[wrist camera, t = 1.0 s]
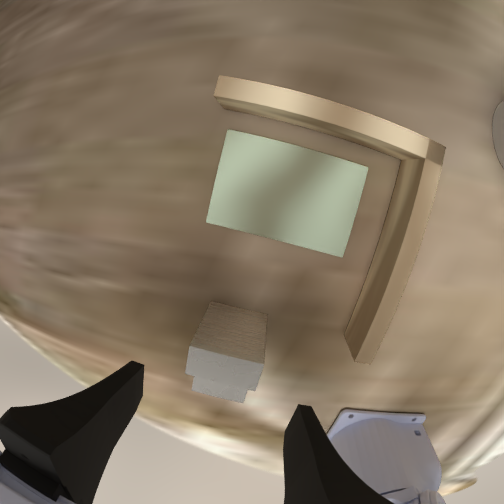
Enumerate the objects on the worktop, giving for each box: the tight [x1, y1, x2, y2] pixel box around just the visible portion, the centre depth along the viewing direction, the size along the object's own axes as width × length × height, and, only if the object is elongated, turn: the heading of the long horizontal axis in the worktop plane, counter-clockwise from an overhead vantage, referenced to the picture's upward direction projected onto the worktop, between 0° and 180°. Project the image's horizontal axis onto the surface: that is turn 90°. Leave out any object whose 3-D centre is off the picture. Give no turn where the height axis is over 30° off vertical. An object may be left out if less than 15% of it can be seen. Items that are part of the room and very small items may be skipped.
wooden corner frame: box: [206, 75, 446, 364], centre depth 17 cm, size 13×14×4 cm
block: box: [185, 301, 267, 403], centre depth 19 cm, size 7×4×6 cm, turn 167°
